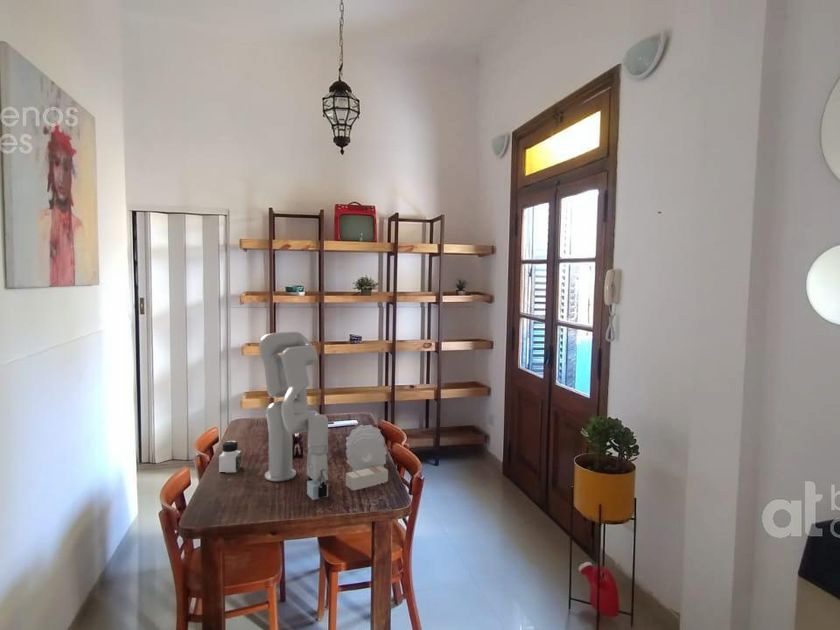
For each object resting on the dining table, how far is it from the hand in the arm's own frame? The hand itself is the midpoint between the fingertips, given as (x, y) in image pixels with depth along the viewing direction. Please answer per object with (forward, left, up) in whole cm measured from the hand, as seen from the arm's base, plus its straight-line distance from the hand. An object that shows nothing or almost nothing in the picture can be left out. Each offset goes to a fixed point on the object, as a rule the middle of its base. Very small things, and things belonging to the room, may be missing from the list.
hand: (317, 492), depth 187 cm
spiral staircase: (-16, +29, -2) cm, 33 cm away
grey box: (0, 0, -1) cm, 1 cm away
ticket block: (0, +21, -1) cm, 21 cm away
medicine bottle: (-44, -22, -1) cm, 49 cm away
